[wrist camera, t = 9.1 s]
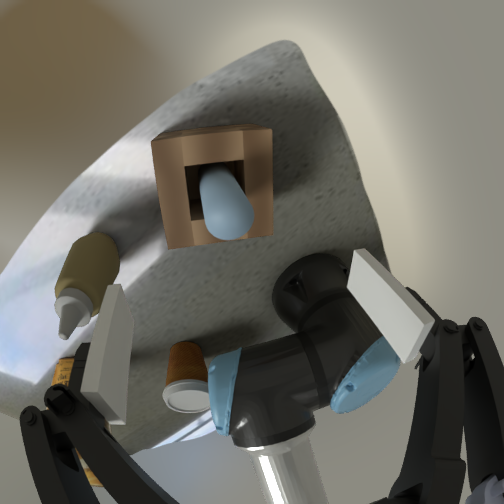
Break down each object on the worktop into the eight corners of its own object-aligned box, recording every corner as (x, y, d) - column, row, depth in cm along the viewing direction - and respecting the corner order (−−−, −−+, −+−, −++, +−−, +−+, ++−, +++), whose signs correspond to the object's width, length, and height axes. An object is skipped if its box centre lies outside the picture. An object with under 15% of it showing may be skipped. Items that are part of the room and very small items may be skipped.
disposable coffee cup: (218, 346, 52) (228, 396, 42) (192, 370, 55) (197, 417, 45) (178, 328, 48) (180, 382, 38) (153, 355, 50) (153, 405, 40)
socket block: (252, 123, 33) (272, 129, 26) (255, 207, 39) (273, 234, 32) (159, 133, 31) (150, 141, 24) (171, 218, 37) (168, 249, 30)
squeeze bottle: (81, 271, 38) (46, 357, 23) (73, 224, 34) (20, 303, 19) (127, 271, 40) (107, 363, 25) (122, 224, 36) (87, 307, 21)
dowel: (228, 157, 33) (253, 191, 21) (230, 187, 35) (254, 236, 23) (196, 161, 32) (202, 197, 21) (199, 191, 34) (207, 243, 23)
